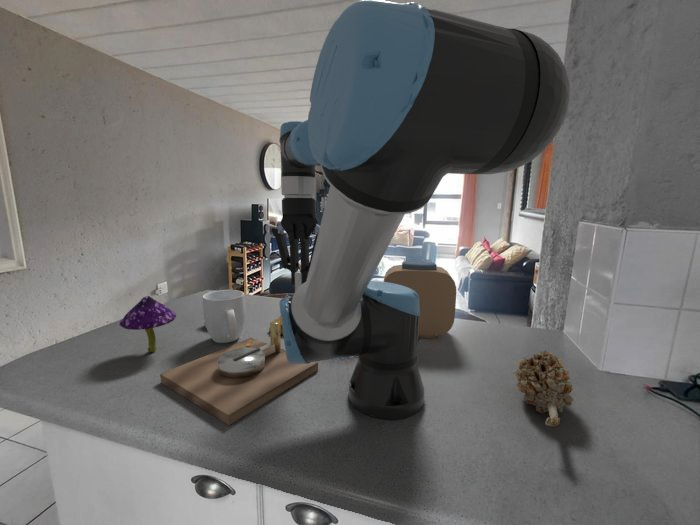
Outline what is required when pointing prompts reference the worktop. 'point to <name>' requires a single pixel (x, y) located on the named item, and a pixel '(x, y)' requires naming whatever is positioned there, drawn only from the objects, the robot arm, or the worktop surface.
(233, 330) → the mug
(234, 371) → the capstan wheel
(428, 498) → the worktop surface
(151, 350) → the decorative mushroom
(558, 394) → the morel mushroom
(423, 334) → the alarm clock
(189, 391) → the base plate
